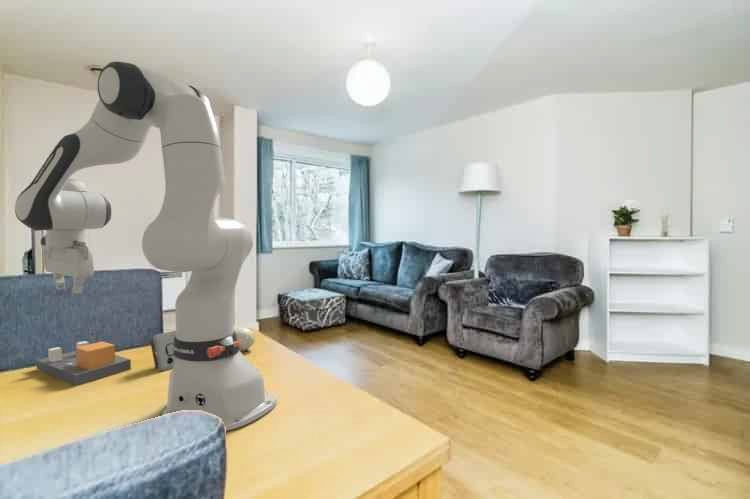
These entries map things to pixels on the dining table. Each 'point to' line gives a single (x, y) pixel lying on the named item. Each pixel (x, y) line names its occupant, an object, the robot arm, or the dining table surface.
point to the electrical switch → (163, 350)
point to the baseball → (245, 338)
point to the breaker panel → (80, 369)
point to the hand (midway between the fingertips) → (69, 291)
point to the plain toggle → (55, 354)
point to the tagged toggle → (82, 343)
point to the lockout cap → (95, 355)
